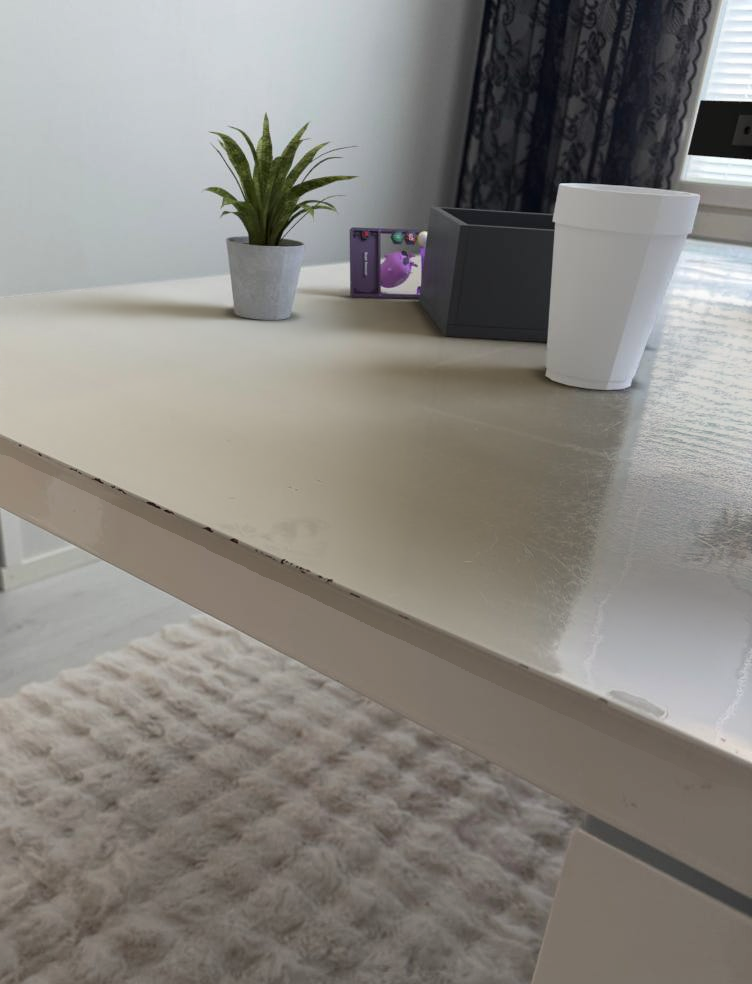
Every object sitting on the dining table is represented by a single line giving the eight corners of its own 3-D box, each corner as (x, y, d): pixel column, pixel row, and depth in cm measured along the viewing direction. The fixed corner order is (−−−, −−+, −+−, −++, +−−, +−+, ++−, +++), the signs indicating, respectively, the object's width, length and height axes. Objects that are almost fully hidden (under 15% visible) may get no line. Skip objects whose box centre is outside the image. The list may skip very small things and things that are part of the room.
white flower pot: (599, 362, 77) (638, 185, 71) (680, 392, 70) (731, 197, 64) (500, 366, 74) (531, 181, 68) (573, 398, 67) (616, 193, 60)
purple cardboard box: (353, 225, 97) (435, 228, 99) (337, 237, 102) (416, 240, 104) (353, 295, 98) (435, 296, 100) (338, 303, 103) (416, 305, 105)
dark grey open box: (586, 311, 99) (606, 217, 95) (643, 348, 84) (670, 237, 80) (418, 301, 99) (430, 206, 95) (444, 336, 83) (460, 224, 79)
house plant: (285, 340, 78) (300, 112, 70) (150, 315, 84) (150, 102, 76) (364, 318, 89) (384, 118, 81) (239, 297, 95) (247, 109, 87)
